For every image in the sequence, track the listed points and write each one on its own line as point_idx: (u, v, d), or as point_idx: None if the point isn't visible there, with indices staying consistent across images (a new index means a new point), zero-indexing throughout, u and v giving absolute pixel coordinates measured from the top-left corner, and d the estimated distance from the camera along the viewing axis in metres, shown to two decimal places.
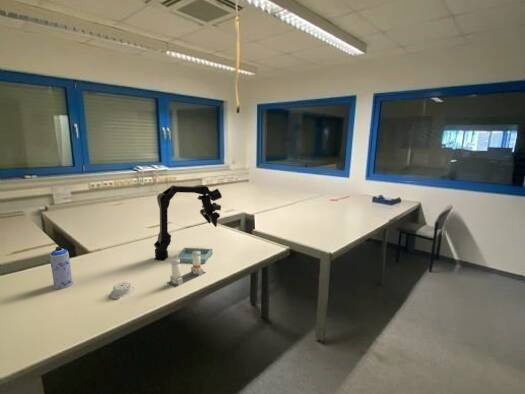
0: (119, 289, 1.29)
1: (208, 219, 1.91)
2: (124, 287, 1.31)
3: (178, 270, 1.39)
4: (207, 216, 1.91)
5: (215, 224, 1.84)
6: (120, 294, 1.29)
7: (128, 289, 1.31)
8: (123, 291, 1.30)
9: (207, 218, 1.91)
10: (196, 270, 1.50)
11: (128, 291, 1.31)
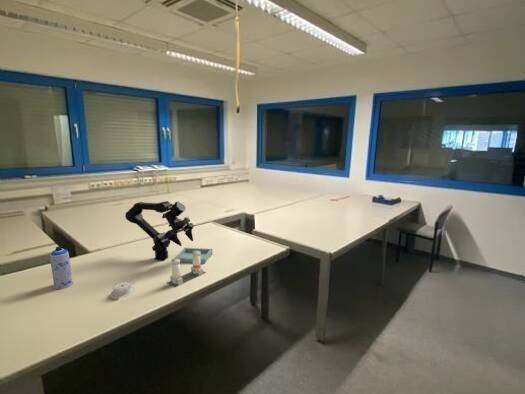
0: (119, 289, 1.29)
1: (189, 236, 1.65)
2: (124, 287, 1.30)
3: (178, 270, 1.39)
4: (188, 233, 1.66)
5: (178, 243, 1.56)
6: (120, 294, 1.29)
7: (128, 289, 1.31)
8: (123, 291, 1.29)
9: (188, 235, 1.66)
10: (196, 270, 1.50)
11: (128, 291, 1.31)
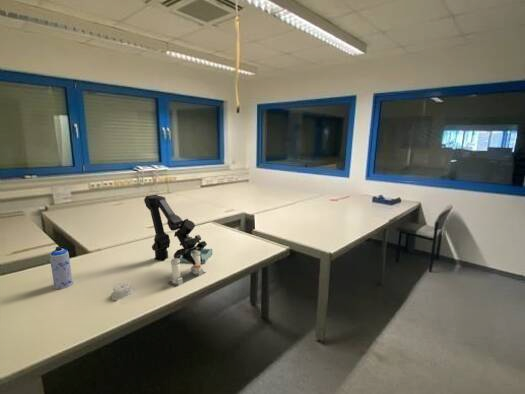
0: (119, 291, 1.28)
1: None
2: (125, 289, 1.29)
3: (178, 270, 1.39)
4: None
5: (192, 262, 1.48)
6: (120, 296, 1.28)
7: (129, 291, 1.30)
8: (124, 293, 1.28)
9: None
10: (196, 270, 1.50)
11: (129, 293, 1.30)
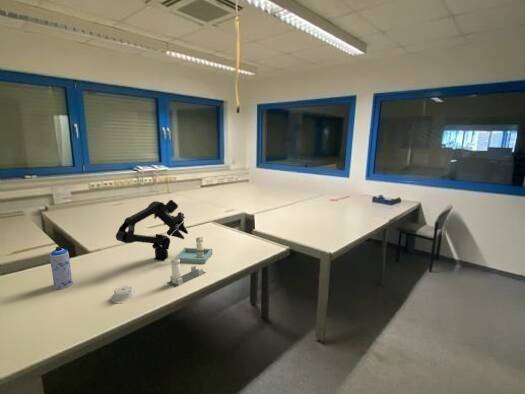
0: (120, 293, 1.26)
1: (183, 230, 1.76)
2: (125, 291, 1.27)
3: (178, 270, 1.39)
4: (181, 228, 1.76)
5: (181, 237, 1.67)
6: (121, 298, 1.26)
7: (129, 293, 1.28)
8: (124, 295, 1.26)
9: (182, 230, 1.77)
10: (201, 254, 1.71)
11: (129, 295, 1.28)
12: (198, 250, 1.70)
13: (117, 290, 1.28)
